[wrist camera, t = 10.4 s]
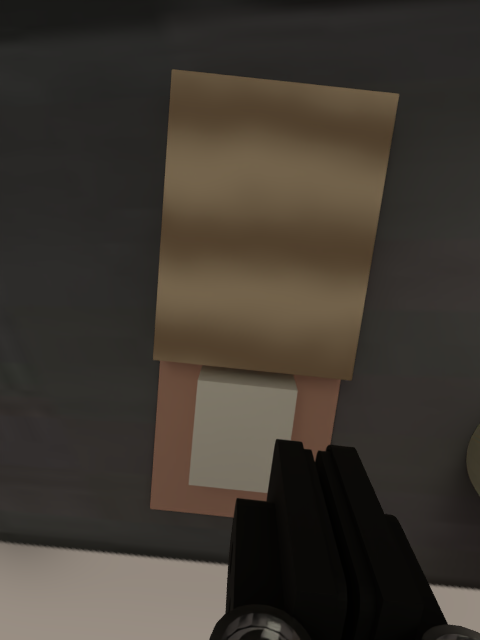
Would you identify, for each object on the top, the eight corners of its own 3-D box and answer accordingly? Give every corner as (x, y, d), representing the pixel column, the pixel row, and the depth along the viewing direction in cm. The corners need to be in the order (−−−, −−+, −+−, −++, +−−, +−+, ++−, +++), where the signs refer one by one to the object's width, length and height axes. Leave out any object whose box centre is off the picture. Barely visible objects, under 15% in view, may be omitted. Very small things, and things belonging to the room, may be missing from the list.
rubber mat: (161, 353, 30) (160, 355, 30) (340, 372, 30) (341, 374, 30) (151, 505, 33) (150, 508, 33) (316, 522, 33) (317, 526, 33)
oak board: (180, 85, 27) (171, 69, 24) (382, 107, 27) (399, 93, 24) (162, 346, 30) (152, 359, 27) (341, 365, 30) (351, 380, 27)
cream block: (202, 364, 30) (197, 380, 27) (292, 373, 30) (297, 390, 27) (194, 460, 32) (188, 485, 29) (280, 469, 32) (283, 494, 29)
